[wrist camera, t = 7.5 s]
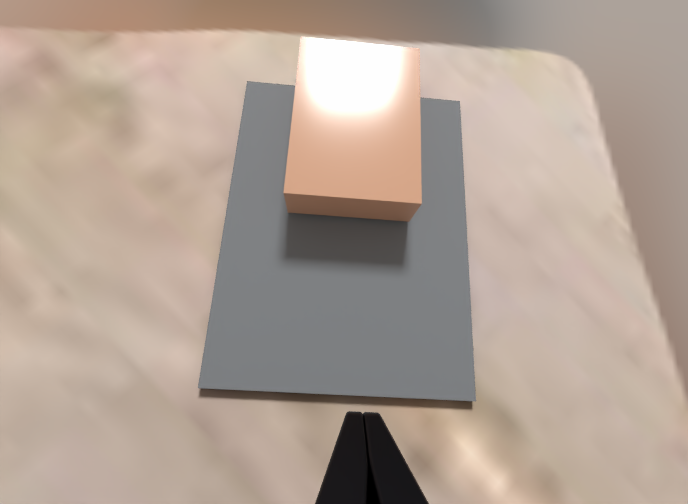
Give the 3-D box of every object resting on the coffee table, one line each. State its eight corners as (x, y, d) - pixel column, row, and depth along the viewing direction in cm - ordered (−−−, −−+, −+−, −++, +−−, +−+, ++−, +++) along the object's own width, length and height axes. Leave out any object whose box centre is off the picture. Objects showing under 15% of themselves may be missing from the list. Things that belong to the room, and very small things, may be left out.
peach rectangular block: (421, 203, 18) (419, 48, 20) (283, 192, 17) (300, 36, 20) (408, 223, 20) (407, 83, 23) (288, 214, 20) (302, 73, 23)
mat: (472, 400, 18) (475, 401, 18) (200, 387, 17) (197, 388, 17) (457, 105, 23) (459, 101, 23) (248, 85, 23) (247, 81, 22)
